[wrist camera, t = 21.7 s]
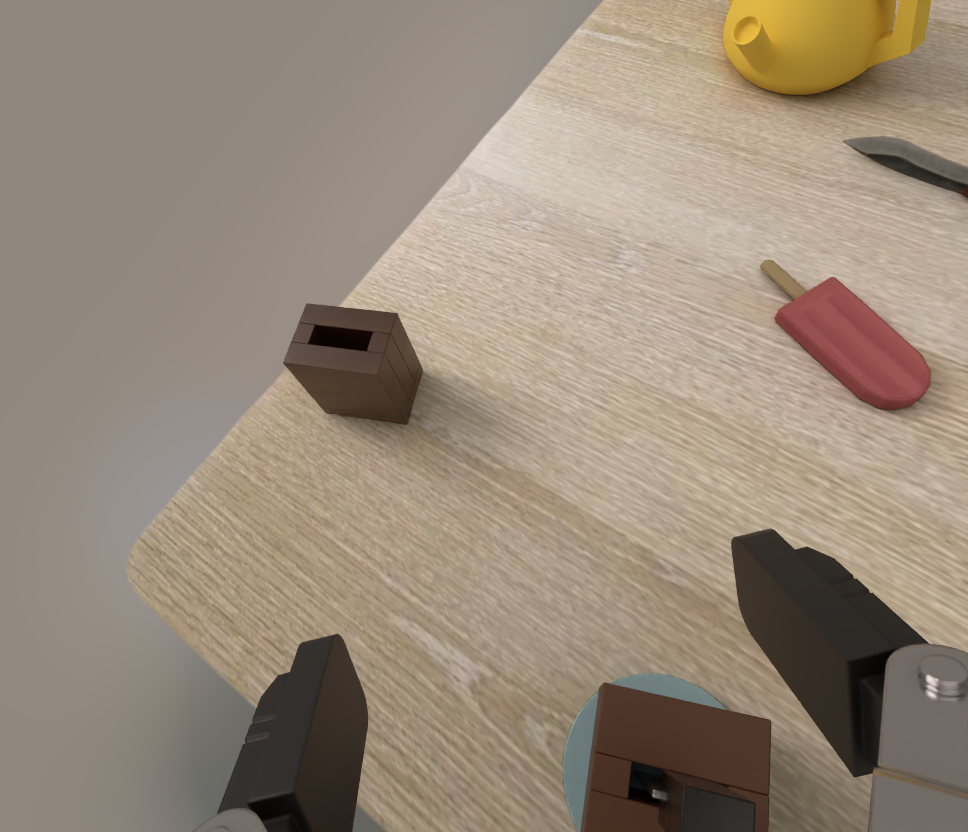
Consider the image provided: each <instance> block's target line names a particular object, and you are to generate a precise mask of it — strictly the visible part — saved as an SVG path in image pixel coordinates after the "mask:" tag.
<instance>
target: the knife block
mask: <svg viewBox="0 0 968 832" xmlns="http://www.w3.org/2000/svg"><path fill="white" fill-rule="evenodd" d="M283 363H284V365H285V366H286V367H287V368H288V369H289V370H290V372H291V373H292V374H293V375H294V376H295V377H296V379H297V380H298V381H299V382H300V383H301V385H302V386H303V387H304V388H305V389H306V390H307V392H308V393H309V394H310V395H311V396H312V397H313V399H314V400H315V401H316V402H317V403H318V405H319V406H320V407H321V408H322V409H323V410H324V411H325V412H326V413H332V414H339V415H345V416H352V417H359V418H366V419H372V420H379V421H386V422H393V423H399V424H406V425H407V423H408V419H409V416H410V412H411V409H412V405H413V402H414V398H415V395H416V392H417V388H418V385H419V381H420V378H421V374H422V371H423V369H422V367H421V364H420V362H419V360H418V358H417V356H416V353H415V351H414V349H413V347H412V345H411V342H410V340H409V338H408V336H407V334H406V332H405V329H404V327H403V325H402V323H401V321H400V318H399V316H398V314H397V313H390V312H381V311H372V310H363V309H353V308H344V307H335V306H326V305H316V304H306V306H305V309H304V311H303V314H302V316H301V319H300V321H299V324H298V326H297V329H296V331H295V334H294V337H293V339H292V341H291V344H290V346H289V349H288V352H287V354H286V356H285V359H284V361H283Z"/></svg>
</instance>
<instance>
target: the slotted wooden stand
mask: <svg viewBox="0 0 968 832" xmlns="http://www.w3.org/2000/svg"><path fill="white" fill-rule="evenodd" d="M770 749H771V721H770V720H768V719H764V718H759V717H755V716H751V715H746V714H742V713H737V712H733V711H729V710H727V709H726V708H725V707H724V706H723V705H721V704H720V703H719V702H718V701H717V700H716V699H715V698H714V697H712V696H711V695H710V694H708V693H707V692H706V691H704V690H702V689H701V688H699V687H697V686H696V685H694V684H692V683H689V682H687V681H685V680H682V679H680V678H676V677H673V676H669V675H662V674H646V673H645V674H637V675H631V676H627V677H624V678H621V679H618V680H616V681H614V682H612V683H610V684H609V683H603V684H602V685H601V686H600V687H599V691H598V692H597V693H596V694H594V695H593V696H592V697H591V698H590V699H589V700H588V701H587V703H586V704H585V705H584V706H583V707H582V709H581V710H580V712H579V713H578V715H577V717H576V719H575V721H574V723H573V725H572V727H571V729H570V732H569V735H568V738H567V742H566V746H565V751H564V760H563V783H564V790H565V796H566V800H567V804H568V808H569V811H570V814H571V816H572V819H573V822H574V824H575V826H576V828H577V830H578V832H665V831H664V829H663V828H662V826H661V825H660V824H659V822H658V815H659V803H660V799H657V798H653V797H652V796H651V795H650V793H649V792H648V791H647V790H646V789H645V788H644V786H643V785H642V784H641V783H640V782H639V781H638V779H637V778H636V777H635V776H634V770H639V771H642V772H646V773H650V774H654V775H658V776H662V771H663V770H667V771H671V772H675V773H679V774H683V775H687V776H691V777H695V778H699V779H703V780H707V781H711V782H715V783H719V784H721V785H723V786H724V787H726V788H728V789H730V790H732V791H734V792H736V793H738V794H740V795H742V796H744V797H745V798H747V799H749V800H751V801H753V802H755V804H756V820H755V832H768V825H769V796H768V795H769V785H770Z"/></svg>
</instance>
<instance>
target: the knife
mask: <svg viewBox="0 0 968 832" xmlns="http://www.w3.org/2000/svg"><path fill="white" fill-rule="evenodd" d="M843 142H844V143H846V144H847V145H849V146H850V147H852V148H853V149H855V150H856V151H858V152H859V153H861V154H862V155H864V156H866V157H868V158H870V159H872V160H874V161H876V162H878V163H880V164H882V165H884V166H886V167H889V168H891V169H893V170H896V171H898V172H901V173H903V174H906V175H908V176H911V177H913V178H916V179H919V180H921V181H924V182H927V183H930V184H933V185H936V186H939V187H942V188H945V189H949V190H952V191H955V192H958V193H961V194H962V195H964V196H966V197H968V167H967V166H964V165H961V164H959V163H956V162H953V161H951V160H948V159H946V158H943V157H941V156H939V155H936V154H934V153H932V152H929V151H927V150H925V149H923V148H921V147H919V146H917V145H914V144H912V143H910V142H908V141H906V140H903V139H900V138H895V137H884V136H879V137H862V138H855V139H849V140H844V141H843Z"/></svg>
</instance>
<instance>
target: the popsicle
mask: <svg viewBox="0 0 968 832" xmlns="http://www.w3.org/2000/svg"><path fill="white" fill-rule="evenodd" d="M761 270H762V271H763V272H764V273H766V274H767V275H768V276H769V277H770V278H771V279H772V280H773V281H774V282H775V283H776V284H778V285H779V286H780V287H781V288H782V289H783V290H784V291H785V292H786V293H787V294H788V295H790V296H791V297H792V298H793V299H794V300H793V301H791V302H790V303H788V304H787V305H785V306H783V307H782V308H780V309H779V311H778V313H777V315H776V317H775V321H776V322H777V323H778V324H779V325H780V326H781V327H782V328H783V329H784V330H785V331H786V332H787V333H789V334H790V335H791V336H792V337H793V338H794V339H795V340H796V341H797V342H798V343H799V344H800V345H801V346H802V347H803V348H804V349H805V350H807V351H808V352H809V353H810V354H811V355H812V356H813V357H814V358H815V359H816V360H817V361H818V362H820V363H821V364H822V365H823V366H824V367H825V368H826V369H827V370H828V371H830V372H831V373H832V374H833V375H834V376H835V377H836V378H837V379H838V380H839V381H841V382H842V383H843V384H844V385H845V386H846V387H847V388H848V389H849V390H851V391H852V392H853V393H854V394H855V395H856V396H857V397H858V398H859V399H861V400H863V401H865V402H867V403H869V404H871V405H873V406H875V407H877V408H883V409H892V410H896V409H900V408H905V407H909V406H911V405H912V404H914V403H915V402H917V401H918V400H919V399H920V398H921V397H922V396H923V395H924V394H925V393H926V391H927V389H928V388H929V386H930V371H931V370H930V369H929V367H928V365H927V363H926V362H925V360H924V358H923V356H922V355H921V354H920V353H919V352H918V351H917V350H916V349H915V348H913V347H912V346H911V345H910V344H909V343H908V342H907V341H906V340H905V339H904V338H902V337H901V336H900V335H899V334H898V333H897V332H896V331H895V330H894V329H893V328H892V327H890V326H889V325H888V324H887V323H886V322H885V321H884V320H883V319H882V318H881V317H879V316H878V315H877V314H876V313H875V312H874V311H873V310H872V309H871V308H869V307H868V306H867V305H866V304H865V303H864V302H863V301H861V300H860V299H859V298H858V297H857V296H856V295H855V294H853V293H852V292H851V291H850V290H849V289H848V288H846V287H845V286H844V285H843V284H842V283H841V282H840V281H838V280H837V279H836V278H835V277H831V278H829V279H827V280H825V281H824V282H822V283H821V284H819V285H817V286H816V287H814V288H813V289H811V290H809V291H808V292H807V291H806V290H805V289H804V288H803V287H802V286H801V285H800V284H799V283H797V282H796V281H795V280H794V279H793V278H792V277H791V276H790V275H789V274H787V273H786V272H785V271H784V270H783V269H782V268H781V267H780V266H779V265H777V264H776V263H775V262H774V261H773V260H765V261H764V262H763V263H762V264H761Z"/></svg>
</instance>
